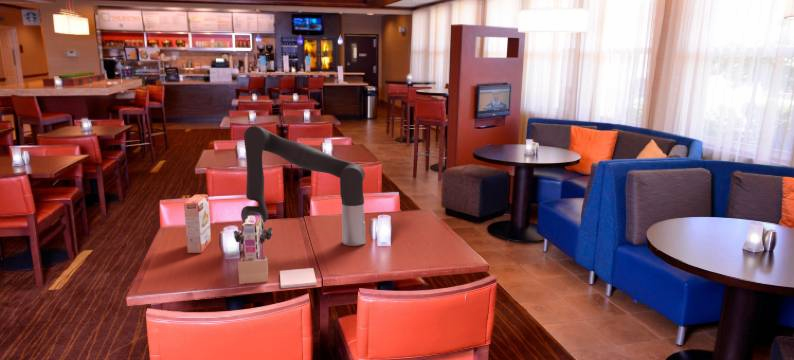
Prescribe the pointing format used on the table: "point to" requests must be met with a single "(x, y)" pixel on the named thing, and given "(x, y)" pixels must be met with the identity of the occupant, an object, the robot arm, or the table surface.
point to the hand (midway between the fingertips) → (252, 241)
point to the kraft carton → (253, 271)
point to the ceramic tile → (297, 278)
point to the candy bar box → (252, 238)
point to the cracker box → (197, 223)
